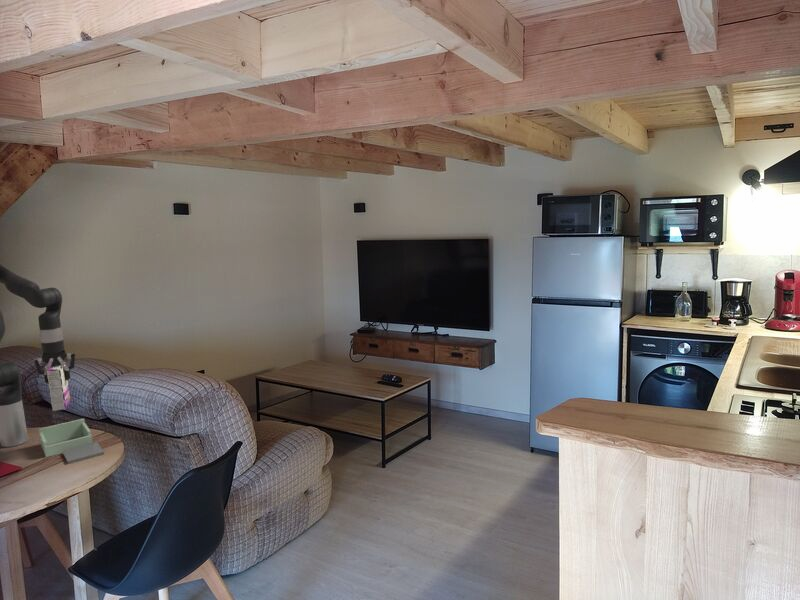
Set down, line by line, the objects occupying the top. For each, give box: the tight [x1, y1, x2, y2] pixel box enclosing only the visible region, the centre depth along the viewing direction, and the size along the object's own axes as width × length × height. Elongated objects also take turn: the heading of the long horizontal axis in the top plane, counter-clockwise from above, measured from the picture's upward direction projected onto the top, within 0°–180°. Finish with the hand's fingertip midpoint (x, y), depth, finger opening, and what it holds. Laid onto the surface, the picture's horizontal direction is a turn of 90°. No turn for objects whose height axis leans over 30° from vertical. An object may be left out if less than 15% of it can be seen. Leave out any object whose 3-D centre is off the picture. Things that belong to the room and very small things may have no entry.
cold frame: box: [38, 418, 93, 458], centre depth 223 cm, size 15×16×7 cm
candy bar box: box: [46, 361, 72, 412], centre depth 220 cm, size 11×5×16 cm, turn 22°
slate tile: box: [62, 442, 105, 465], centre depth 215 cm, size 12×12×1 cm
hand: (57, 381), depth 220 cm, fingers closed on candy bar box, 5 cm apart
